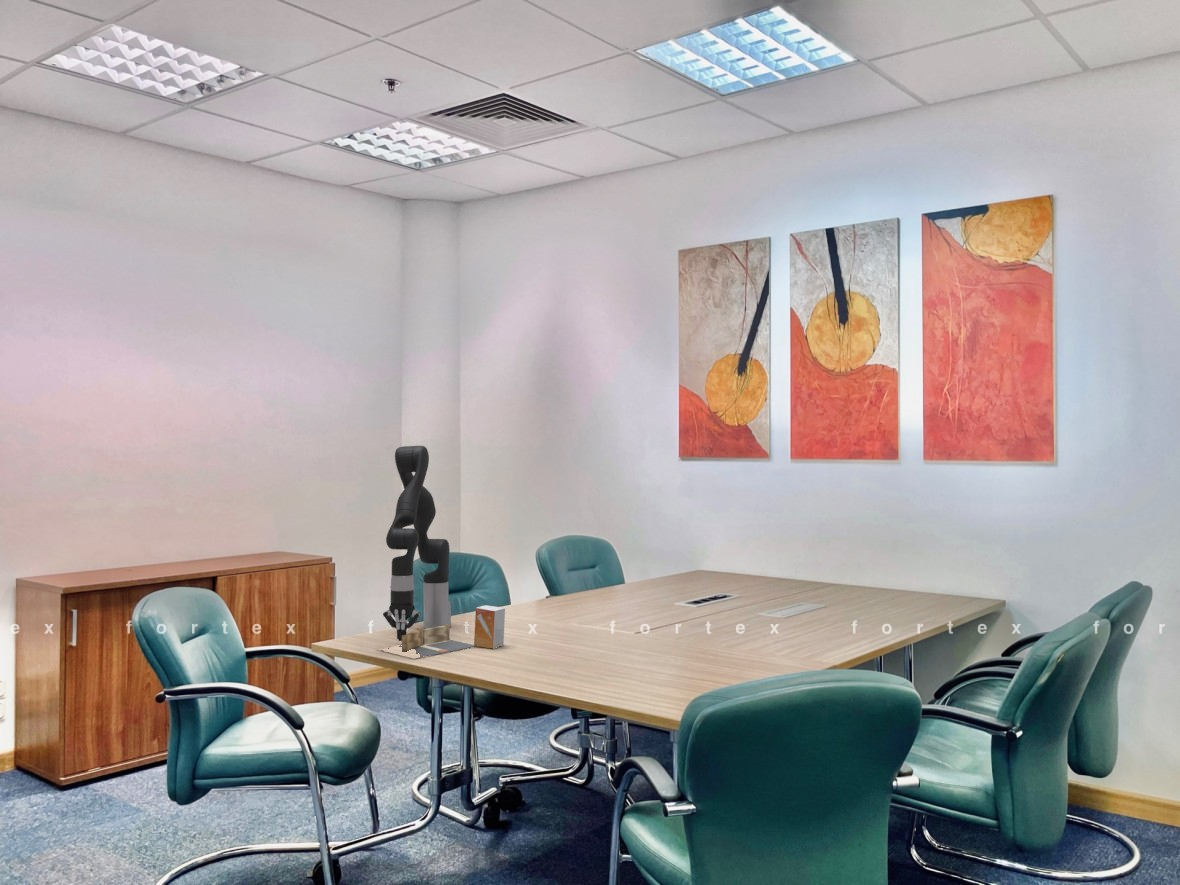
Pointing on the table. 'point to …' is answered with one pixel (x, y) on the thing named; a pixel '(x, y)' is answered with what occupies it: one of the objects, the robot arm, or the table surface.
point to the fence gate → (410, 641)
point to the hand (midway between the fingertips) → (401, 640)
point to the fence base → (434, 634)
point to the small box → (489, 626)
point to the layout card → (441, 647)
